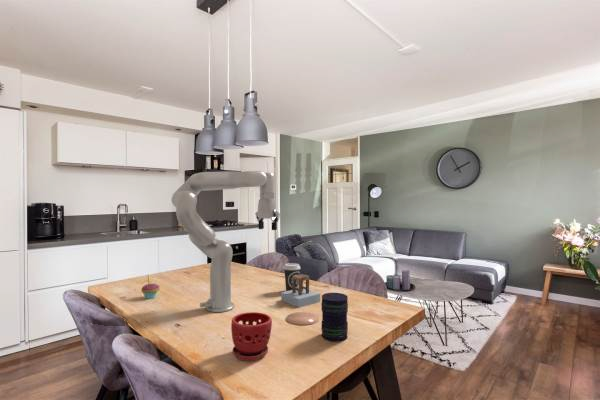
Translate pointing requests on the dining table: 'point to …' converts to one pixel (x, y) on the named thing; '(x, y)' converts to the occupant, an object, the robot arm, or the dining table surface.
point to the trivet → (302, 318)
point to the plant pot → (251, 335)
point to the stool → (300, 283)
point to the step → (300, 298)
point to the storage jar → (334, 317)
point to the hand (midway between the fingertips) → (267, 229)
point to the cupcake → (150, 290)
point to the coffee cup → (291, 274)
